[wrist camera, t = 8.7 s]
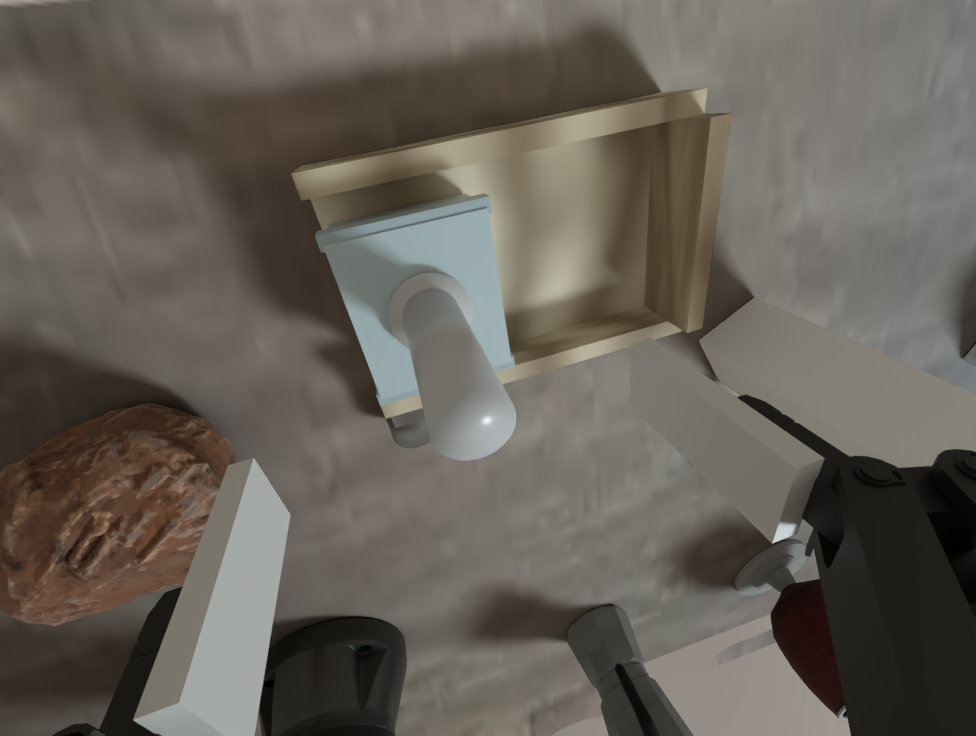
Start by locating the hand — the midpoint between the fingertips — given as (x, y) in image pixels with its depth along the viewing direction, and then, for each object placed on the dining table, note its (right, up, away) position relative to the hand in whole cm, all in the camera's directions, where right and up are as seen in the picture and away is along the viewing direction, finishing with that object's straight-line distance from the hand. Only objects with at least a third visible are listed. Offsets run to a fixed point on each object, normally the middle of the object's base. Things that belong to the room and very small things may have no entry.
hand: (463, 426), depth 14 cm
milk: (+23, +5, +24) cm, 34 cm away
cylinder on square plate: (-3, +8, +12) cm, 15 cm away
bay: (+2, +8, +15) cm, 17 cm away
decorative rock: (-22, -4, +15) cm, 27 cm away
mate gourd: (+44, -29, +50) cm, 72 cm away
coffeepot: (+16, -33, +44) cm, 57 cm away
